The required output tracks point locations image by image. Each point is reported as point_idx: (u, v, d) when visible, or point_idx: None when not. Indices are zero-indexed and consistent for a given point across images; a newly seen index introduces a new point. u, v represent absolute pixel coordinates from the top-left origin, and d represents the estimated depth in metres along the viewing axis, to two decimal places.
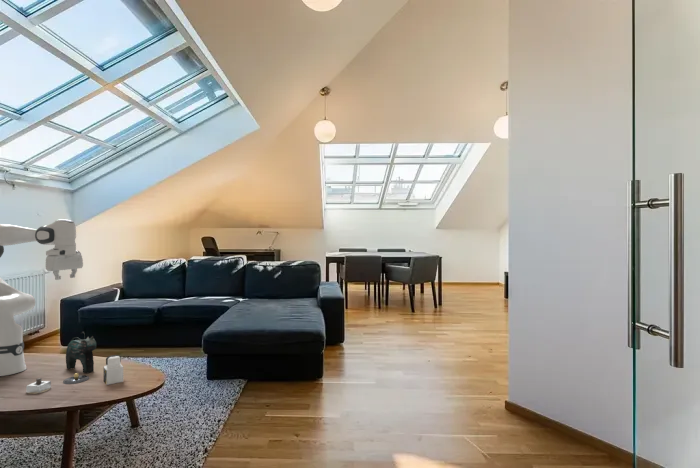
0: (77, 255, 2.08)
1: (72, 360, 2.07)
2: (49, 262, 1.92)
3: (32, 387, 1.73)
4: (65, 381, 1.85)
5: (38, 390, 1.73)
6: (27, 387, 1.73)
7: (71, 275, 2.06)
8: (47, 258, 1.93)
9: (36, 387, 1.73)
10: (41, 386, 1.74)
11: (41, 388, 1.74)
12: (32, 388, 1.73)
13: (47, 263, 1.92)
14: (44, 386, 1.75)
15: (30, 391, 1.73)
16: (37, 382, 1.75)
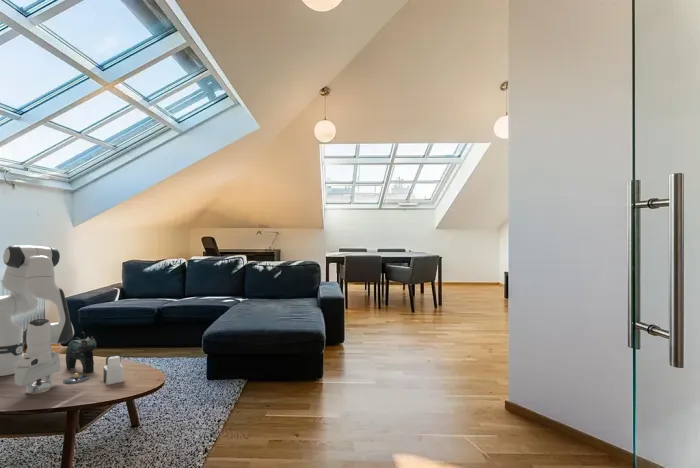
0: (53, 358, 1.82)
1: (72, 360, 2.07)
2: (19, 376, 1.66)
3: None
4: (65, 381, 1.85)
5: (38, 390, 1.73)
6: (27, 387, 1.73)
7: None
8: (16, 371, 1.67)
9: (36, 387, 1.73)
10: (41, 386, 1.74)
11: (41, 388, 1.74)
12: None
13: (16, 377, 1.66)
14: (44, 386, 1.75)
15: None
16: (37, 382, 1.75)
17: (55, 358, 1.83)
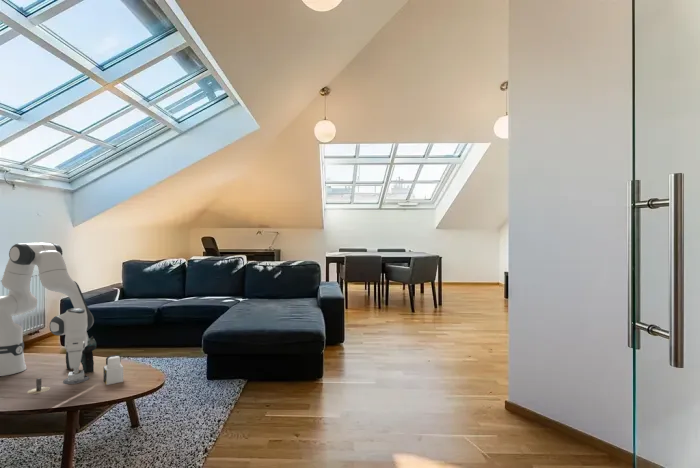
0: None
1: None
2: (74, 359, 1.80)
3: (75, 376, 1.86)
4: (65, 381, 1.85)
5: (82, 377, 1.87)
6: (69, 377, 1.85)
7: None
8: (70, 355, 1.80)
9: (80, 375, 1.87)
10: (83, 373, 1.88)
11: (83, 375, 1.88)
12: (75, 376, 1.86)
13: (71, 360, 1.80)
14: None
15: (72, 380, 1.85)
16: (37, 382, 1.75)
17: None
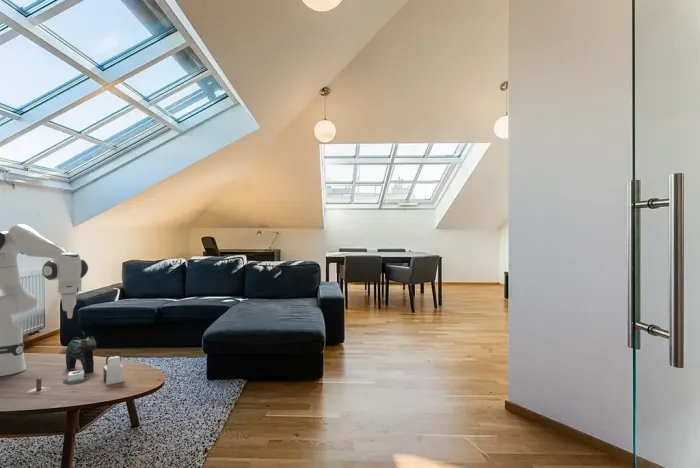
0: None
1: (72, 360, 2.07)
2: (67, 301, 1.76)
3: (75, 375, 1.86)
4: (65, 381, 1.85)
5: (82, 377, 1.87)
6: (69, 377, 1.85)
7: None
8: (64, 297, 1.76)
9: (80, 375, 1.87)
10: (83, 373, 1.88)
11: (83, 375, 1.88)
12: (75, 376, 1.86)
13: (64, 303, 1.76)
14: None
15: (72, 380, 1.85)
16: (37, 382, 1.75)
17: None
